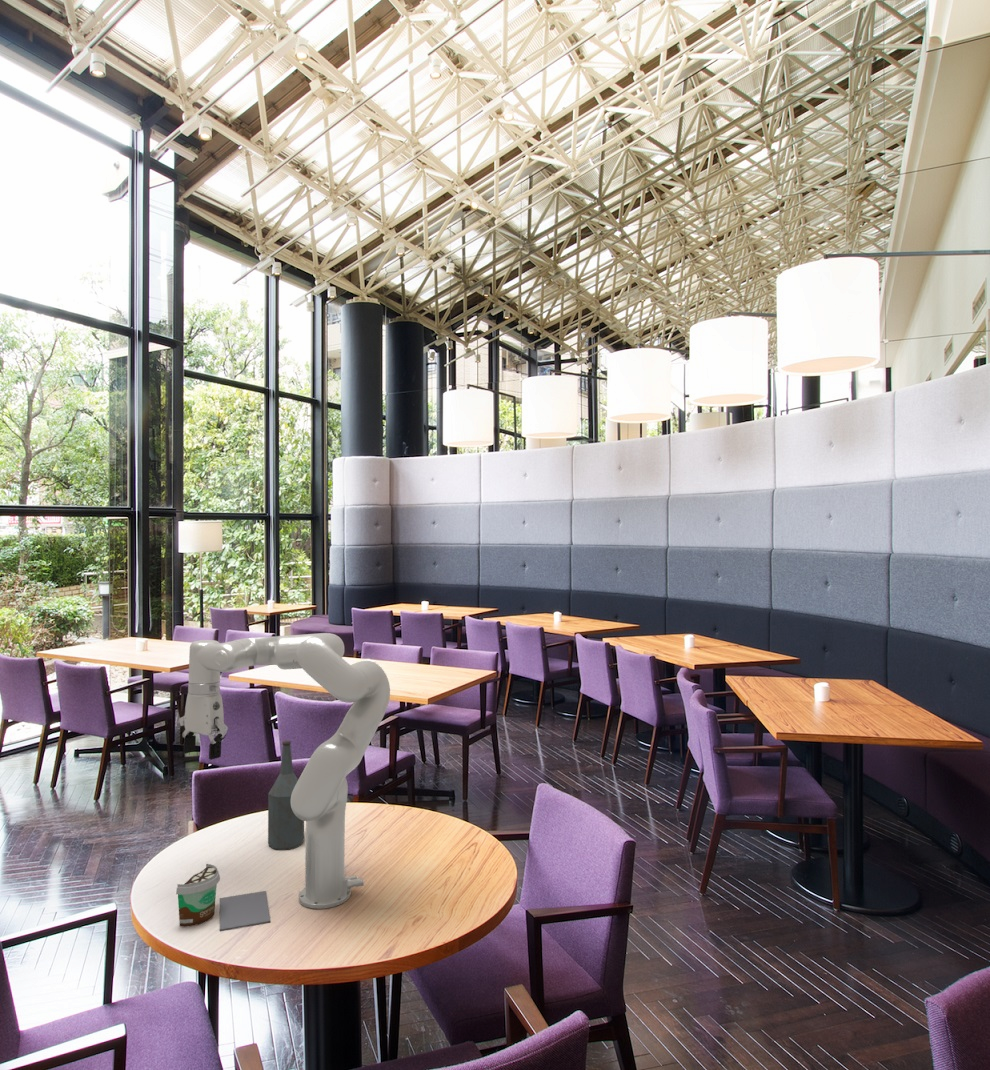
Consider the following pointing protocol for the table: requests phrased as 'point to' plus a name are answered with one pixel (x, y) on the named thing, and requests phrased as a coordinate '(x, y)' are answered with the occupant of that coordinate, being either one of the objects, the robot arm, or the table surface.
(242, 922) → the mat
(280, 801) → the bottle
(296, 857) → the table surface
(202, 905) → the food container
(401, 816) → the table surface
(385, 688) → the robot arm
